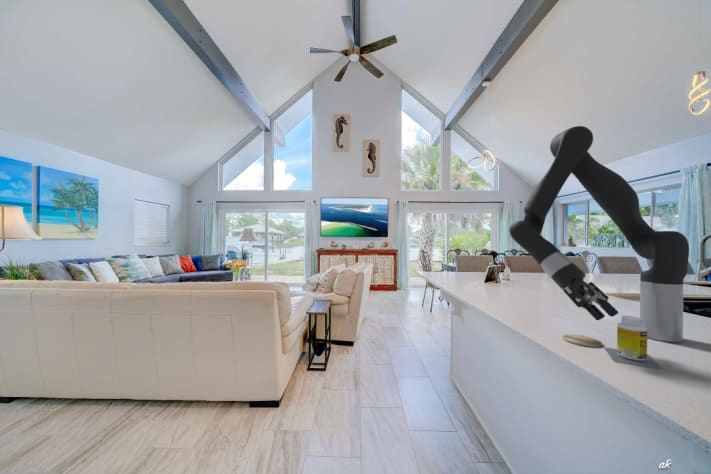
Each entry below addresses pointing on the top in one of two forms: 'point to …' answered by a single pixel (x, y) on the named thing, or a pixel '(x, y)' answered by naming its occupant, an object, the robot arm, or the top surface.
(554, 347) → the top surface
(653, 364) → the gray board
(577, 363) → the top surface
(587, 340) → the cork coaster
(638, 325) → the supplement bottle
